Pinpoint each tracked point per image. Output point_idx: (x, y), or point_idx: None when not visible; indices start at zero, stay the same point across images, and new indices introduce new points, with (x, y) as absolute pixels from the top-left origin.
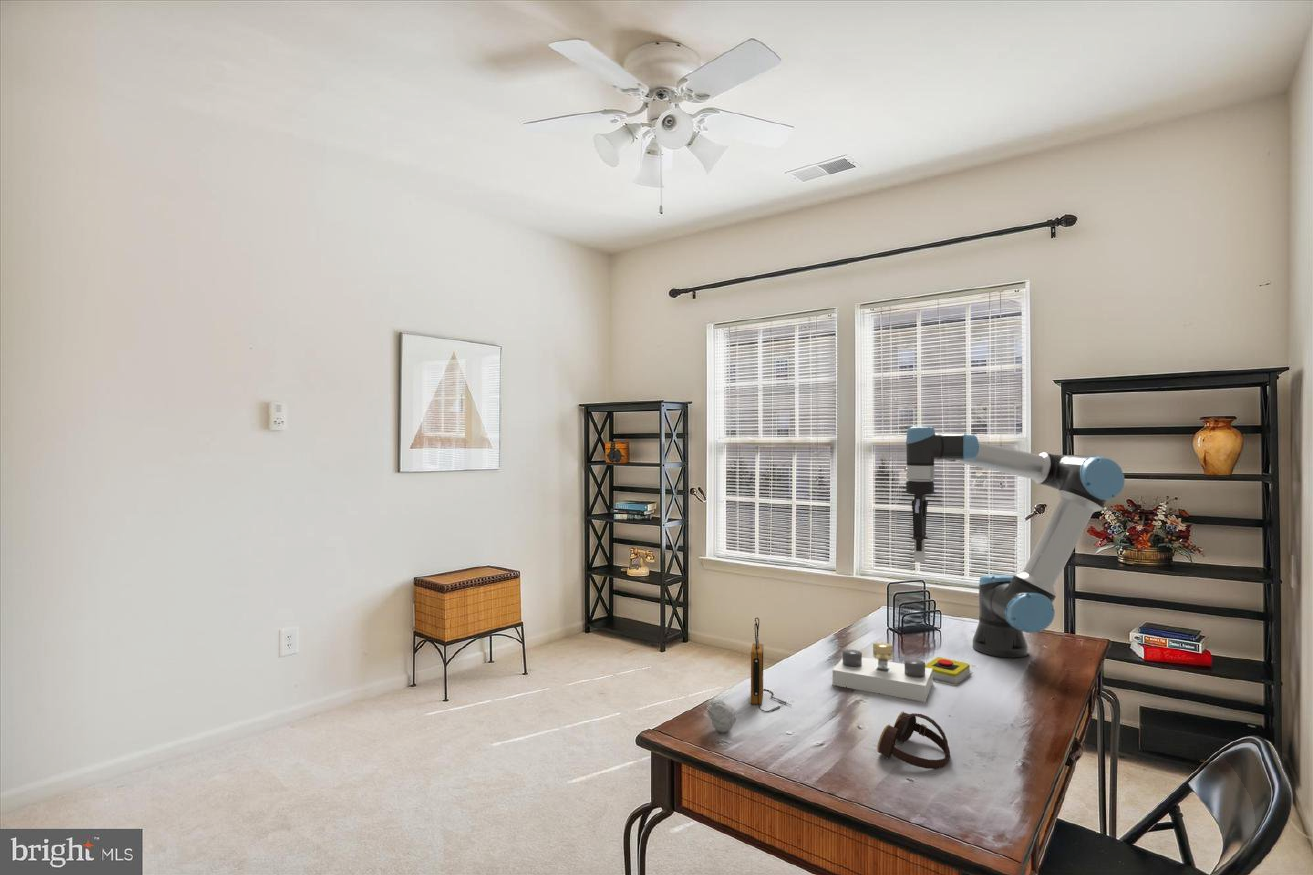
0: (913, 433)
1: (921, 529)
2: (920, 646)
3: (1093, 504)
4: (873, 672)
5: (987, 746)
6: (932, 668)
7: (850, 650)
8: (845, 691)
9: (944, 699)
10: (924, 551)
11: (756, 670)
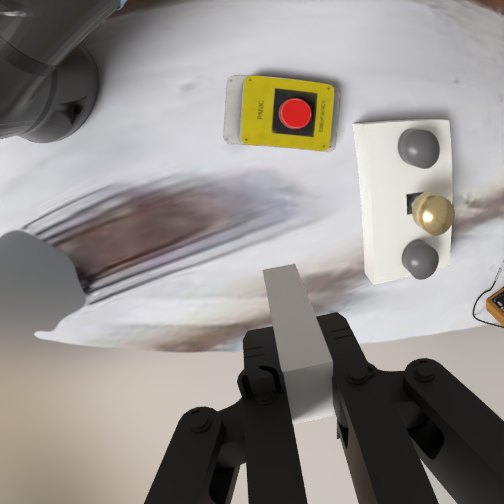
0: None
1: (492, 415)
2: (135, 217)
3: None
4: None
5: (497, 42)
6: (329, 131)
7: (416, 270)
8: None
9: (409, 93)
10: (291, 304)
11: None
